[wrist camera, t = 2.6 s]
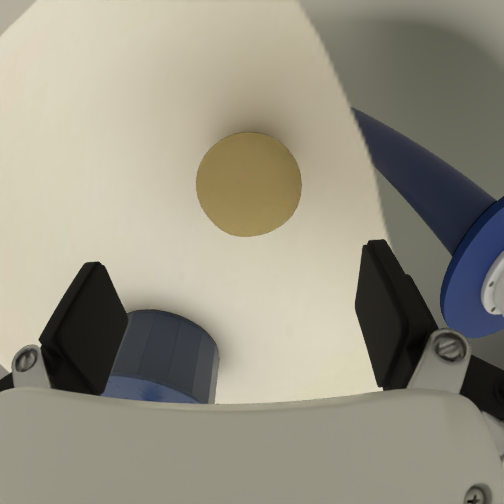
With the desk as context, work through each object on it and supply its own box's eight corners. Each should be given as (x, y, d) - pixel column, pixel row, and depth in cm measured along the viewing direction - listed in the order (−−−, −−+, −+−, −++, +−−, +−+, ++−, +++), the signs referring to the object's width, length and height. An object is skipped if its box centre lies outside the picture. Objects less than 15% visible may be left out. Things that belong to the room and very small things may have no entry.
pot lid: (198, 371, 27) (192, 413, 23) (226, 434, 35) (224, 464, 32) (65, 361, 28) (50, 393, 24) (120, 425, 36) (113, 451, 33)
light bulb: (232, 199, 27) (219, 269, 19) (199, 134, 24) (165, 177, 15) (301, 173, 25) (322, 234, 17) (272, 103, 22) (281, 127, 14)
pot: (206, 308, 34) (194, 379, 26) (226, 379, 42) (222, 437, 35) (96, 309, 35) (68, 368, 28) (135, 375, 44) (121, 427, 36)
